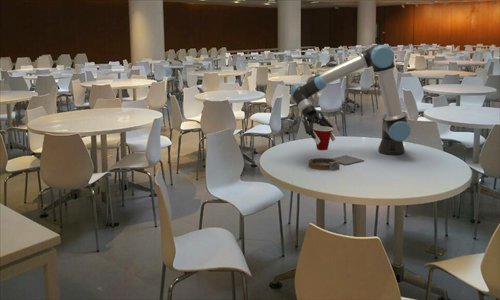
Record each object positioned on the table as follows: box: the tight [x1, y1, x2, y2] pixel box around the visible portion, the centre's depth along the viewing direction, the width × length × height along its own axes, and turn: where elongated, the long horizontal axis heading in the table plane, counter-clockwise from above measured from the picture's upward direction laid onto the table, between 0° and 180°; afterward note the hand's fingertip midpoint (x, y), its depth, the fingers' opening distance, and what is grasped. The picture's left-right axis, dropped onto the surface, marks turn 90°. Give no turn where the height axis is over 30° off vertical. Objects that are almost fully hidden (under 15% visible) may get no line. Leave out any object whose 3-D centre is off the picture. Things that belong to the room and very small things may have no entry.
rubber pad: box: [330, 154, 365, 166], centre depth 283 cm, size 14×14×1 cm
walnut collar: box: [308, 157, 340, 172], centre depth 273 cm, size 15×18×4 cm
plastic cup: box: [313, 125, 334, 151], centre depth 271 cm, size 11×11×12 cm
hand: (326, 141), depth 269 cm, fingers closed on plastic cup, 10 cm apart
